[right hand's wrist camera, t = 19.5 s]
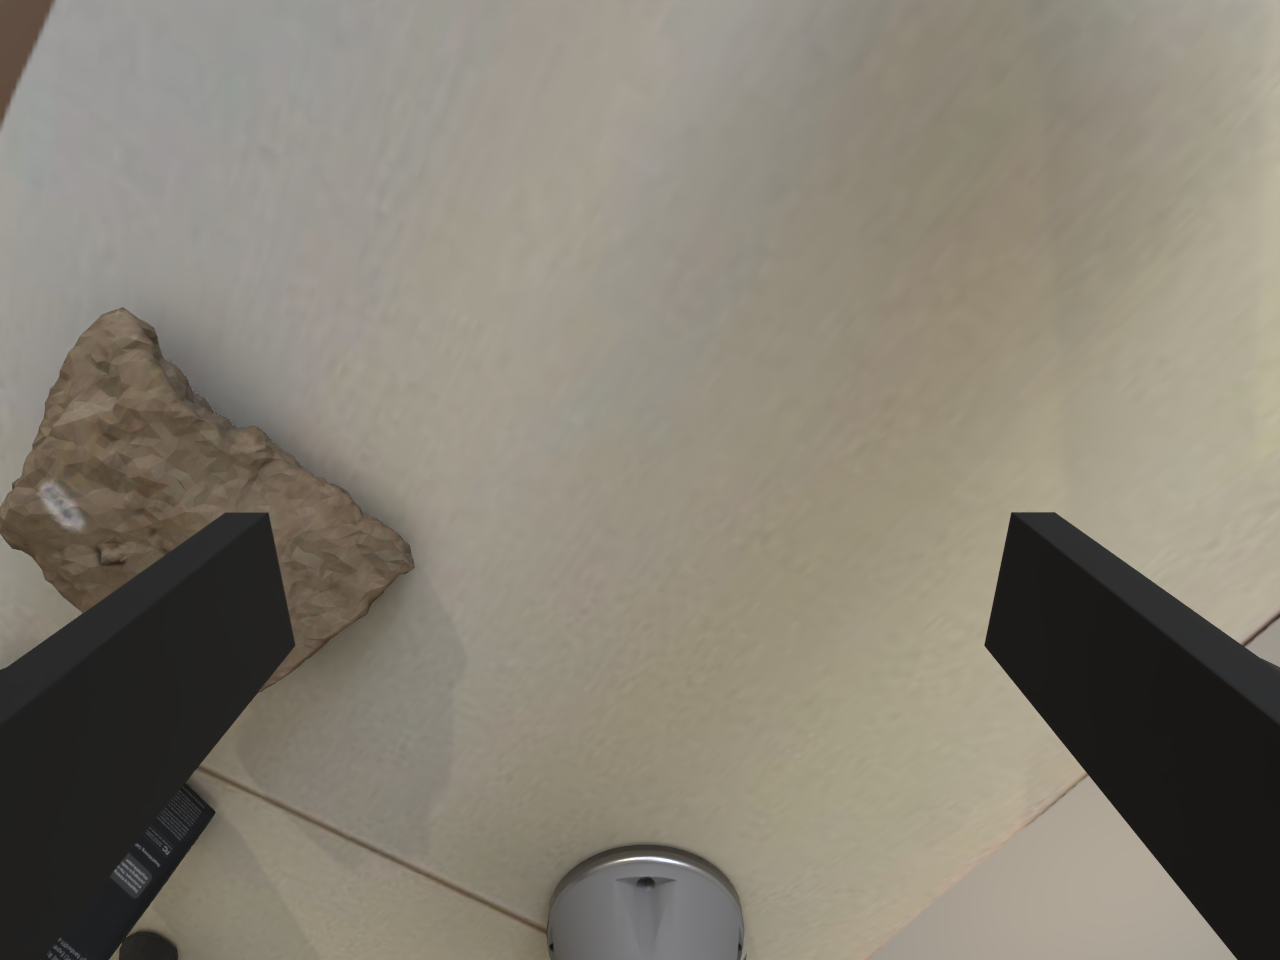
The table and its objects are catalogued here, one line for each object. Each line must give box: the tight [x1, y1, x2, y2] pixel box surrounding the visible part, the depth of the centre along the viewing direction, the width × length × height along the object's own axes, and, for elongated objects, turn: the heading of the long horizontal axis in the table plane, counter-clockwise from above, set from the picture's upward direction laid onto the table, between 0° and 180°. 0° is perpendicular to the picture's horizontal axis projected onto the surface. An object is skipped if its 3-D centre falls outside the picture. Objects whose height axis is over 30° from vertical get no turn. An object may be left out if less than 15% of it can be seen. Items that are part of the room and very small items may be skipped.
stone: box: [0, 307, 414, 693], centre depth 41 cm, size 21×15×6 cm
